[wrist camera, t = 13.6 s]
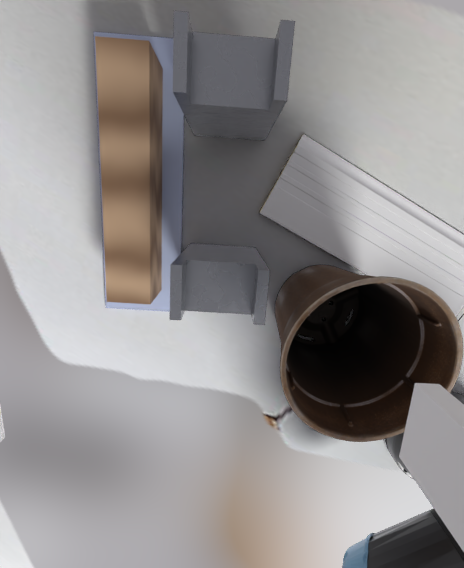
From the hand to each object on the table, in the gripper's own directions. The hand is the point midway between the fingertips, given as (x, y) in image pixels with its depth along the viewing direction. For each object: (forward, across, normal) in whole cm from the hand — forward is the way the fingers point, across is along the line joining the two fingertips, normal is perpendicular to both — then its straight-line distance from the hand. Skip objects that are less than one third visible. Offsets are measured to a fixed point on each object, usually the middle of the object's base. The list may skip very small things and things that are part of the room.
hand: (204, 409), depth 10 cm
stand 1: (+31, 0, -17) cm, 35 cm away
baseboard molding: (+32, -20, -5) cm, 39 cm away
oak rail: (+30, +11, -9) cm, 33 cm away
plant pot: (+32, -13, +6) cm, 35 cm away
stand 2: (+31, +1, 0) cm, 32 cm away
